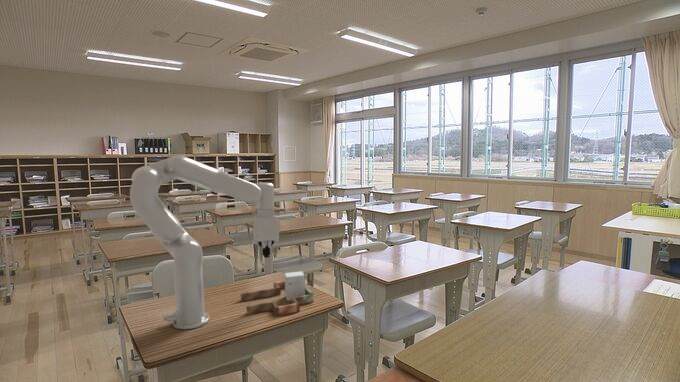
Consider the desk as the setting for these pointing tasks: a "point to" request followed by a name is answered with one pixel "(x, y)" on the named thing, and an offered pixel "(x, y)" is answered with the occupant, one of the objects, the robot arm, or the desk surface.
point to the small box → (294, 285)
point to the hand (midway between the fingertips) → (266, 256)
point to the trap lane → (272, 305)
